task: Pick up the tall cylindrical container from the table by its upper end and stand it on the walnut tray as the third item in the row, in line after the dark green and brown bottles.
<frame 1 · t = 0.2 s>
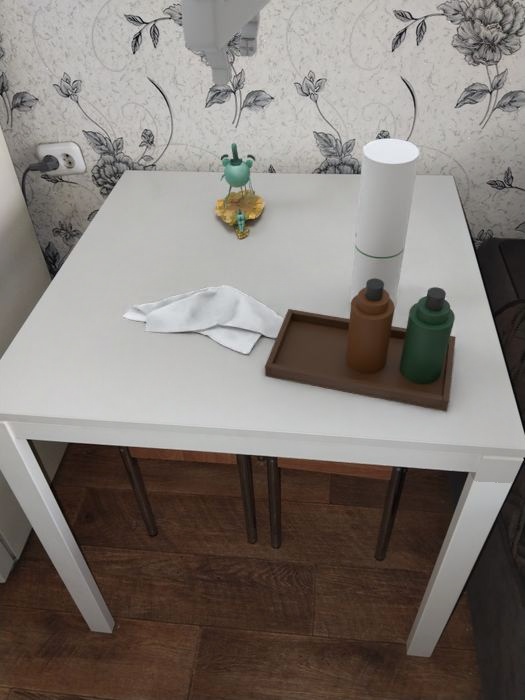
hand: (236, 68, 68), 36 cm above the table, tool pointing down, fingers open, 8 cm apart
cloth: (211, 315, 92), on the table, touching tray
tray: (360, 361, 84), on the table
frog figurine: (238, 214, 113), on the table
green bottle: (420, 369, 81), resting on tray
brown bottle: (365, 359, 83), resting on tray
cylindrical container: (372, 302, 93), on the table
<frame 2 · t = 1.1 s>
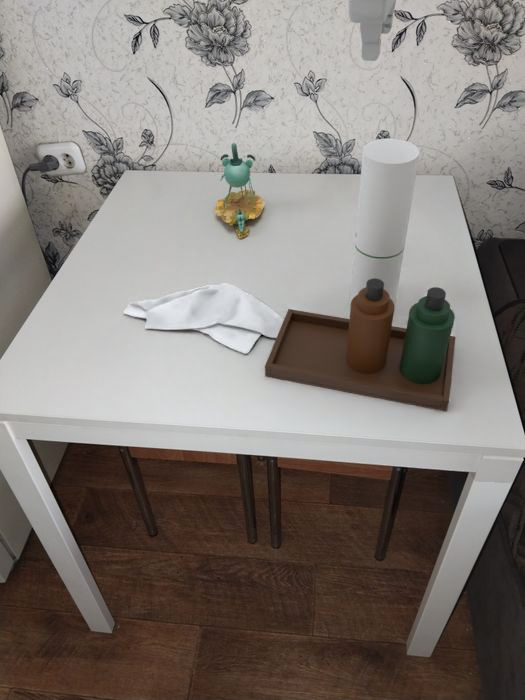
hand: (377, 44, 67), 38 cm above the table, tool pointing down, fingers open, 8 cm apart
cloth: (211, 313, 92), on the table, touching tray
everything else where it was.
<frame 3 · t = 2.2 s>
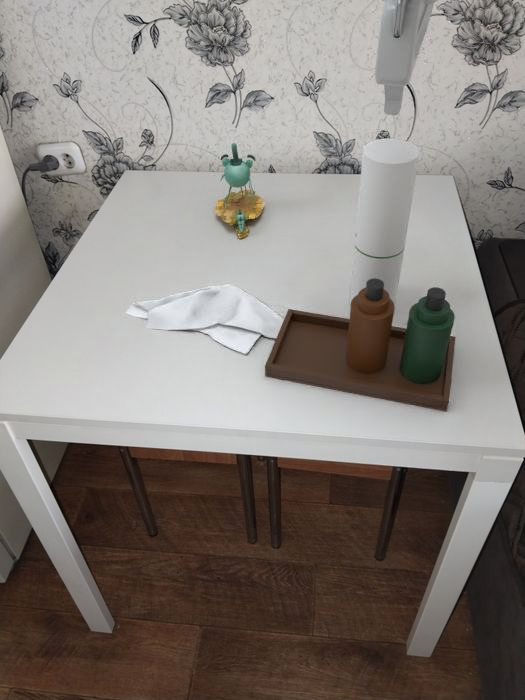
hand: (397, 96, 71), 32 cm above the table, tool pointing down, fingers open, 8 cm apart
cloth: (212, 314, 92), on the table, touching tray
everything else where it was.
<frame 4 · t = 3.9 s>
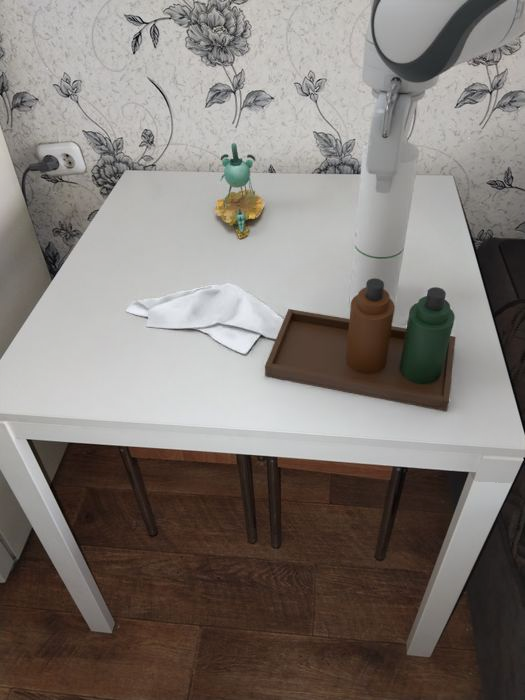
hand: (387, 174, 78), 22 cm above the table, tool pointing down, fingers closed on cylindrical container, 7 cm apart
cylindrical container: (372, 302, 93), on the table, touching gripper
everything else where it was.
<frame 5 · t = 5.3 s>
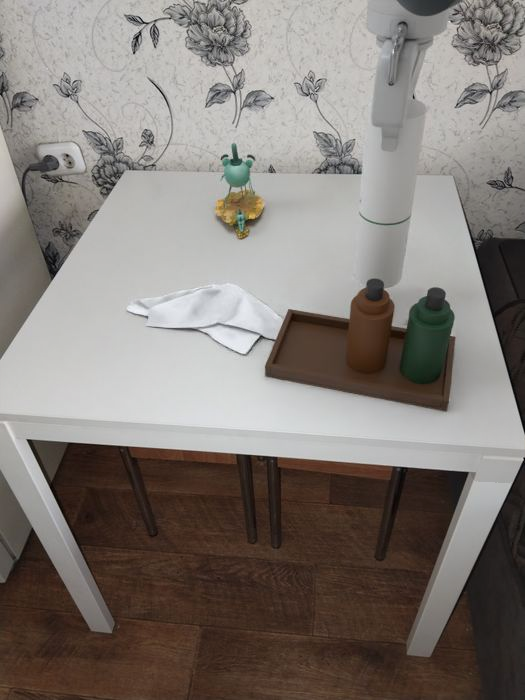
hand: (393, 133, 74), 27 cm above the table, tool pointing down, fingers closed on cylindrical container, 7 cm apart
cloth: (212, 313, 92), on the table, touching tray
cylindrical container: (377, 275, 89), point 5 cm above the table, touching gripper
everything else where it was.
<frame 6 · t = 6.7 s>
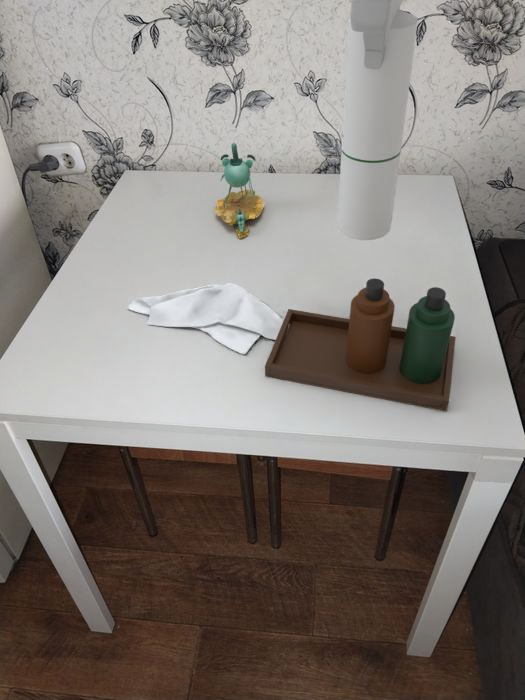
hand: (380, 53, 64), 38 cm above the table, tool pointing down, fingers closed on cylindrical container, 7 cm apart
cylindrical container: (363, 226, 79), point 16 cm above the table, touching gripper
everything else where it was.
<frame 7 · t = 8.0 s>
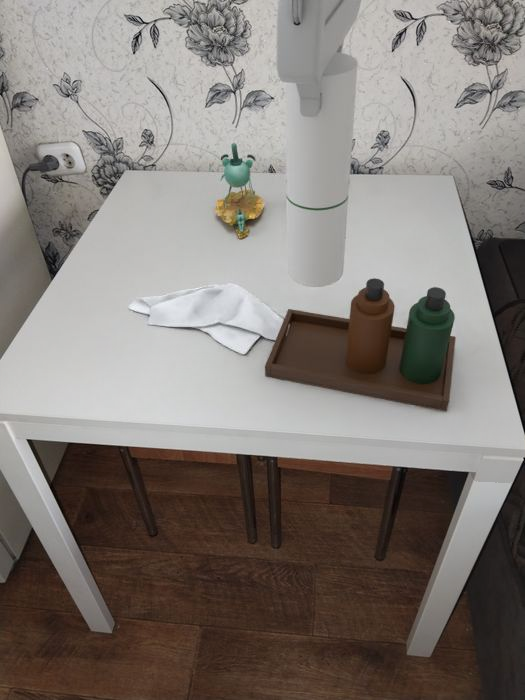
hand: (320, 97, 60), 36 cm above the table, tool pointing down, fingers closed on cylindrical container, 7 cm apart
cloth: (214, 313, 92), on the table, touching tray
cylindrical container: (315, 271, 75), point 14 cm above the table, touching gripper
everything else where it was.
when the fingers open (22 cm above the table, at t = 11.6 s): cylindrical container stays where it is, resting on tray.
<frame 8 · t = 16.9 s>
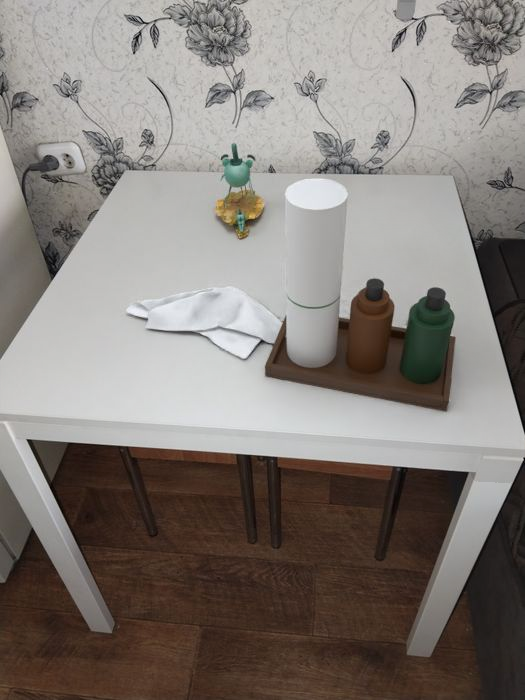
hand: (410, 5, 66), 41 cm above the table, tool pointing down, fingers open, 8 cm apart
cloth: (213, 316, 91), on the table, touching tray
cylindrical container: (311, 350, 85), resting on tray
everything else where it was.
at the end: cylindrical container 0.1 cm from the target spot, resting on tray; cylindrical container tilted 0°; brown bottle moved 0.0 cm from its start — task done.
